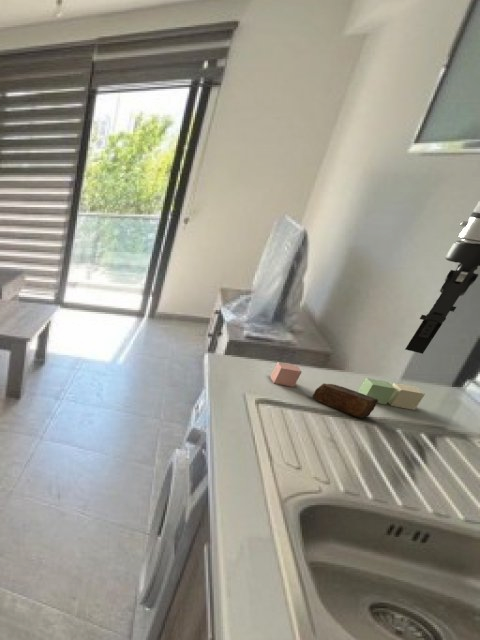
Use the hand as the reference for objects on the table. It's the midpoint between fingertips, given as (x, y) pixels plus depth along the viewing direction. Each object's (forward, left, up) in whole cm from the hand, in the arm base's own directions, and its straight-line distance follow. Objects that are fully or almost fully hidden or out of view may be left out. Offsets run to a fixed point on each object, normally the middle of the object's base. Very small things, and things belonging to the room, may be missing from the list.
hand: (418, 344), depth 103 cm
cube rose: (+15, +14, -19) cm, 28 cm away
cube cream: (+15, -10, -19) cm, 26 cm away
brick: (+4, +5, -19) cm, 20 cm away
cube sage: (+15, -5, -19) cm, 25 cm away
